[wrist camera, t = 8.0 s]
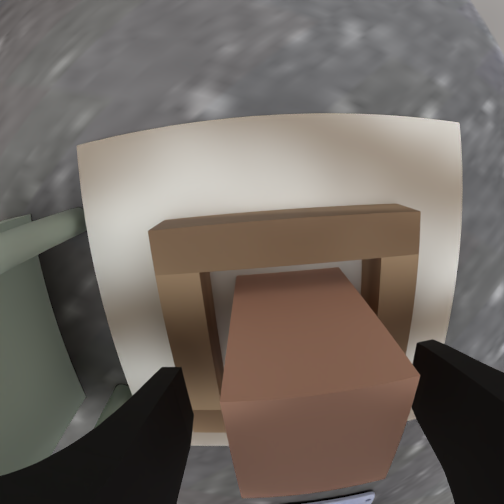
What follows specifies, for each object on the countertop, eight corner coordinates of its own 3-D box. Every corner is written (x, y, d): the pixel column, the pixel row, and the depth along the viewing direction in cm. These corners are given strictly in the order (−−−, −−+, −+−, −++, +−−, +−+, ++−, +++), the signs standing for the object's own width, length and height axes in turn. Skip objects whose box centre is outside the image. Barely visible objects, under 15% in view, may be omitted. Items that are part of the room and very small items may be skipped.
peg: (335, 351, 13) (385, 478, 6) (245, 360, 13) (241, 498, 6) (338, 267, 12) (420, 375, 5) (236, 275, 12) (219, 401, 5)
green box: (138, 402, 15) (68, 587, 4) (61, 393, 15) (-26, 532, 4) (86, 203, 12) (-168, 315, 1) (6, 219, 12) (-177, 303, 1)
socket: (416, 406, 16) (435, 438, 13) (155, 431, 16) (144, 467, 13) (447, 124, 11) (487, 119, 8) (88, 146, 12) (49, 144, 9)
